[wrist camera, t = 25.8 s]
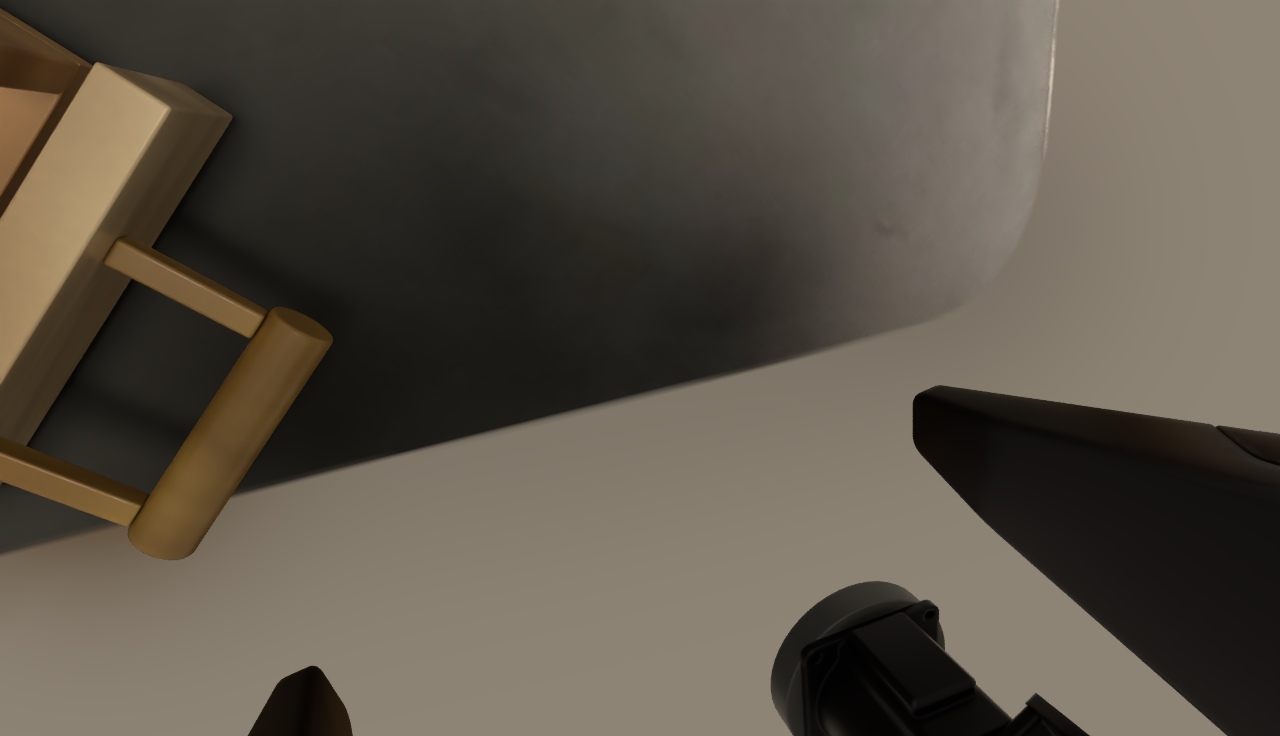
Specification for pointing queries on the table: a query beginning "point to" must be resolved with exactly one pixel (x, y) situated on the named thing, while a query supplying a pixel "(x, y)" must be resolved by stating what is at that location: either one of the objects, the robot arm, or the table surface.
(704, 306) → the table surface
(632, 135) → the table surface
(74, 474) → the drawer
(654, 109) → the table surface
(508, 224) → the table surface
